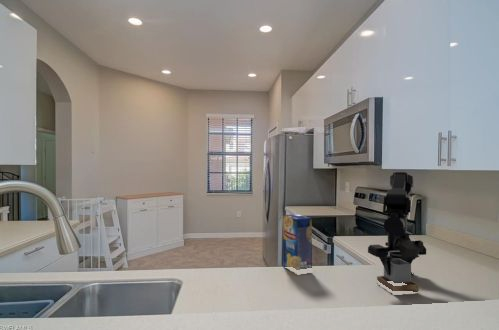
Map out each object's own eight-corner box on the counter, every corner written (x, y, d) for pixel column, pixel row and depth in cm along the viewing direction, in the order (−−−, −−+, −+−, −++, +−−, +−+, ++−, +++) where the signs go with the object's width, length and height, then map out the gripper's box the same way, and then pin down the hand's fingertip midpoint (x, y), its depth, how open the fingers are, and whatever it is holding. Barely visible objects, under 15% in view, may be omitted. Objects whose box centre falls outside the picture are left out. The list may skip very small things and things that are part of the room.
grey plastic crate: (399, 275, 103) (399, 258, 103) (411, 281, 98) (410, 263, 98) (383, 276, 102) (383, 259, 103) (394, 282, 97) (394, 265, 97)
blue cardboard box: (297, 264, 125) (296, 214, 126) (312, 273, 115) (311, 218, 116) (283, 267, 123) (283, 215, 123) (297, 275, 113) (297, 219, 113)
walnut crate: (400, 282, 105) (400, 274, 105) (418, 293, 96) (418, 284, 96) (377, 284, 104) (377, 276, 104) (393, 295, 95) (393, 286, 95)
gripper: (386, 235, 91) (387, 285, 91) (439, 233, 94) (439, 281, 94) (366, 228, 102) (367, 273, 102) (414, 226, 105) (414, 269, 105)
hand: (397, 274), depth 100 cm, fingers closed on grey plastic crate, 6 cm apart
